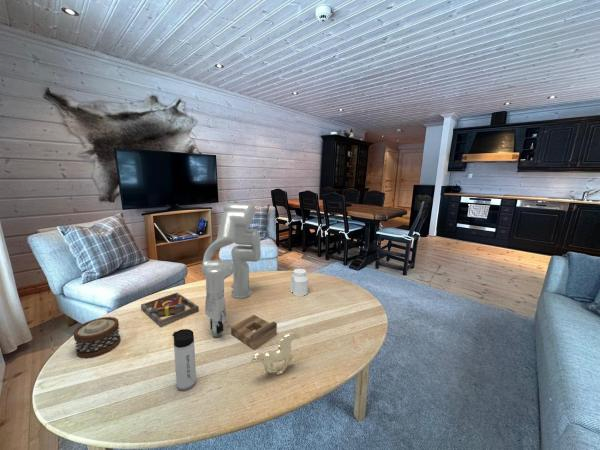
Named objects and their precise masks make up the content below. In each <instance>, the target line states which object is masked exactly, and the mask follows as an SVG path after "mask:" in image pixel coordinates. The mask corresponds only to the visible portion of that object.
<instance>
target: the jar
mask: <svg viewBox="0 0 600 450" xmlns="http://www.w3.org/2000/svg"><path fill="white" fill-rule="evenodd" d="M292 273H293V274H292V275H291V276H290V291H291V292H293V293H292V294H294V295H296V296H302V295H306V294H307V293H309V291H308V289H309V277H308V276H307V271H306V269H304V268H295V269H293V272H292ZM291 292H290V293H291ZM294 295H293V296H294ZM307 295H308V294H307ZM307 295H306V296H307ZM296 296H295V297H296Z"/></svg>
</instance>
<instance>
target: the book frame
mask: <svg viewBox="0 0 600 450" xmlns="http://www.w3.org/2000/svg"><path fill="white" fill-rule="evenodd" d="M174 297H178V298H179V297H184V300H185V301H184V302H185V303H184V305H185V306H186V307H188V309H184V310H185V311H183V312H180V313H178V314H173V315H169V316H167V317H165V318H163V319H162V318H161V317H158V316H157V315H156V314H155V313H150V310H151V308H152V306H153V303H154V301H160V300H162V299H164V300H166V299H172V298H174ZM199 309H200V308H199V306H198V305H197V304H196V303H194V302H193V301H192V300H190V299H188V298H186V297H185V296H183V295H182V294H180V293H179V292H175V293H172V294H168V295H165V296H162V297H159V298H156V299H154V300H151V301H148V302H143V303H141V304H140V310H141V311H142V312H143V313H145V315H147V316H148V317H149V318H150V320H152V321H153V322H154V323H156V325H158V326H159V327H160V328H163V327H165V326H167V325H169V324H172V323H175V322H177V321H180V320H182V319H183V318H184V319H185V318H186V317H189V316H191V315H193V314H196V313H198V312H200V311H199Z"/></svg>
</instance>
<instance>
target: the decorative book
mask: <svg viewBox="0 0 600 450" xmlns="http://www.w3.org/2000/svg"><path fill="white" fill-rule="evenodd" d="M184 297H185V296H183V297H179V298H178V297H174V298H172V299H166V300H164V299H162V300H160V301H154V303H153V306H152V307H151V308H150V313H155V314H156V315H157V316H158V317H159V318H162V317H170V316H173V315H175V314H178V313H180V312H183V311H185V310H186V309H185V308H186V307H187V305H185V304H184V303H185V302H184V301H185V300H184Z"/></svg>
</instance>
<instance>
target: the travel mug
mask: <svg viewBox="0 0 600 450" xmlns="http://www.w3.org/2000/svg"><path fill="white" fill-rule="evenodd" d="M171 335H172V337H173V347H174V348H173V352H174V365H175V366H174V367H175V368H174V369H175V381H176V388H177V390H178V391H181V392H182V391H183V392H184V391H189V390H190V389H191V388H193V387H194V386H195V385H196V383H197V371H196V368H197V367H196V352H195V351H196V349H195V335H194V331H193V330H192V329H189V328H185V329H184V328H181V329H180V330H176V331H174V332H173V333H172V334H171Z"/></svg>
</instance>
